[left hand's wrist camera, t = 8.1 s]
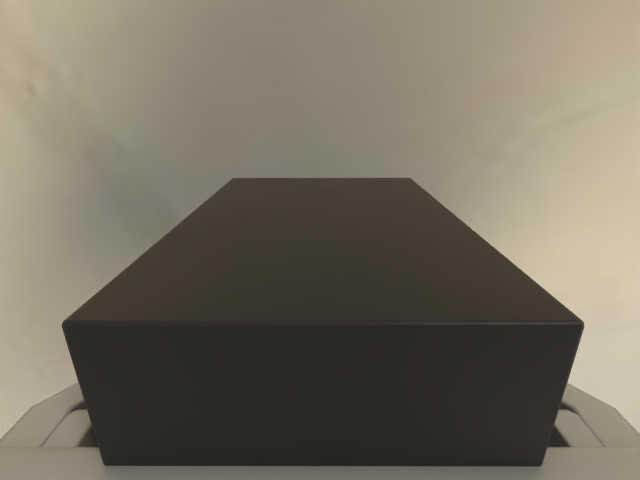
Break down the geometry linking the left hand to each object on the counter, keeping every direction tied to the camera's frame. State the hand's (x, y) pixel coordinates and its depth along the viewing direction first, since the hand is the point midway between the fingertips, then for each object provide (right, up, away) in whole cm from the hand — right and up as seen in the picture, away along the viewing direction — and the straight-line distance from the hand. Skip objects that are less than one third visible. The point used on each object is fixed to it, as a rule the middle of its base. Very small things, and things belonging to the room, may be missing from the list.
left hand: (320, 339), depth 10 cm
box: (0, -6, +6) cm, 8 cm away
